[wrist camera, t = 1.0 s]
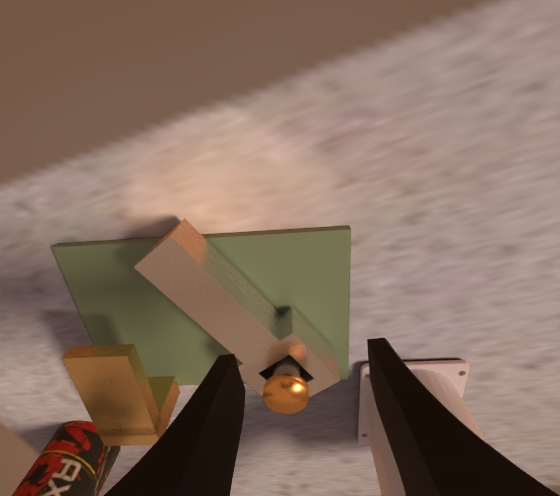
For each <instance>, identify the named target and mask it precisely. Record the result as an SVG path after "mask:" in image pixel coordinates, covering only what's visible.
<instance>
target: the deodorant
mask: <svg viewBox="0 0 560 496" xmlns="http://www.w3.org/2000/svg"><path fill="white" fill-rule="evenodd" d="M119 451H120V446H104V444H103V442H102V440H101V437H100V435H99V433H98V431H97V429H96V427H95V425H94V423H92V422H87V421H72V422H68V423H65V424H63V425H62V426H61V427H60V428H59V429H58V430H57V432H56V433H55V434H54V436H53V437H52V439H51V440H50V442H49V443H48V444H47V446H46V447H45V449H44V450H43V452H42V453H41V454H40V456H39V457H38V459H37V460H36V462H35V463H34V465H33V466H32V467H31V469H30V470H29V472H28V473H27V475H26V476H25V478H24V479H23V480H22V482H21V483H20V485H19V486H18V488H17V489H16V490H15V492H14V493H13V495H12V496H98V495H99V493H100V491H101V489H102V487H103V485H104V483H105V481H106V478H107V476H108V474H109V472H110V470H111V468H112V466H113V464H114V462H115V460H116V458H117V456H118V454H119Z"/></svg>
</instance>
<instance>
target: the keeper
mask: <svg viewBox="0 0 560 496" xmlns="http://www.w3.org/2000/svg"><path fill="white" fill-rule="evenodd" d="M62 361H63V363H64V365H65V367H66V369H67V371H68V373H69V375H70V377H71V379H72V381H73V383H74V385H75V387H76V389H77V391H78V393H79V395H80V397H81V399H82V401H83V403H84V405H85V407H86V409H87V411H88V413H89V415H90V417H91V419H92V421H93V423H94V425H95V427H96V429H97V431H98V433H99V435H100V437H101V440H102V442H103V444H104V446H125V445H154V444H155V443H156V442H157V441H158V440H159V439H160V437H161V436H162V435H163V434H164V433H165V431H166V429H167V426H168V423H169V421H170V418H171V415H172V413H173V410H174V407H175V405H176V402H177V399H178V397H179V394H180V390H179V387H178V384H177V380H176V377H175V376H166V377H146V374H145V371H144V369H143V366H142V363H141V360H140V357H139V355H138V352H137V349H136V346H135V344H123V345H99V346H74V347H71V348H70V349H69V350H68V352H67V353H66V354H65V355H64V356H63V357H62Z"/></svg>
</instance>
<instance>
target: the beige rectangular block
mask: <svg viewBox="0 0 560 496" xmlns="http://www.w3.org/2000/svg"><path fill="white" fill-rule="evenodd" d="M134 268H135V269H136V270H137V271H138V272H140V273H141V274H142V275H143V276H144V277H145V278H146V279H148V280H149V281H150V282H151V283H152V284H153V285H154V286H156V287H157V288H158V289H159V290H160V291H161V292H162V293H164V294H165V295H166V296H167V297H168V298H169V299H170V300H171V301H173V302H174V303H175V304H176V305H177V306H178V307H179V308H181V309H182V310H183V311H184V312H185V313H186V314H187V315H189V316H190V317H191V318H192V319H193V320H194V321H195V322H197V323H198V324H199V325H200V326H201V327H202V328H203V329H205V330H206V331H207V332H208V333H209V334H210V335H211V336H213V337H214V338H215V339H216V340H217V341H218V342H219V343H221V344H222V345H223V346H224V347H225V348H226V349H227V350H229V351H230V352H231V353H232V354H235V358H236V361H237V364H238V368H239V371H240V374H241V378H242V380H244V381H245V382H246V383H247V384H248V385H250V386H251V387H252V388H253V389H254V390H255V391H257V392H258V393H259V394H260V395H261V396H262V397H263V389H264V384H265V382H266V381H267V380H268V379H269V378H271V377H272V375H273V364H274V363H276V362H278V361H279V360H281V359H283V358H284V357H286V356H288V355H290V356H291V357H293V358H294V359H295V360H296V361H297V362H298V363H299V364H300V377H301V378H302V379H304V380H305V381H306V383H307V385H308V387H309V397H311V396H313V395H315V394H317V393H318V392H320V391H322V390H324V389H326V388H328V387H330V386H332V385H333V384H335V383H337V382H339V381H340V376H339V371H338V365H337V359H336V353H335V351H334V350H333V349H332V348H331V347H330V346H329V345H328V344H327V343H326V342H325V341H324V340H323V339H322V338H321V337H320V336H319V335H318V334H317V332H316V331H315V330H314V329H313V328H312V327H311V326H310V325H309V324H308V323H307V322H306V321H305V320H304V319H303V318H302V317H301V316H300V315H299V314H298V313H297V312H296V311H295V310H294V309H293V308H291V309H289V310H288V311H286V312H284V313H283V314H280V313H279V312H278V311H277V310H276V309H275V308H274V307H273V306H272V305H271V304H270V303H269V302H268V301H267V300H266V299H265V298H264V297H263V296H262V295H261V294H260V293H259V292H258V291H257V290H256V289H255V288H254V287H253V286H252V285H251V284H250V283H249V282H248V281H247V280H246V279H245V278H244V277H243V276H242V275H241V274H240V273H239V272H238V271H237V270H236V269H235V268H234V267H233V266H232V265H231V264H230V263H229V262H228V261H227V260H226V259H225V258H224V257H223V256H222V255H221V254H220V253H219V252H218V251H217V250H216V249H215V248H214V247H213V246H212V245H211V244H210V243H209V242H208V241H207V240H206V239H205V238H204V237H203V236H202V235H201V234H200V233H199V232H198V231H197V230H196V229H195V228H194V227H193V226H192V225H191V224H190V223H189V222H188V221H187V220H186V219H184V220H183V221H181V222H180V223H179V224H178V225H177V226H176V227H174V228H173V229H172V230H171V231H170V232H169V233H167V234H166V235H165V236H164V237H163V238H162V239H161V240H159V241H158V242H157V243H156V244H155V245H154V246H152V247H151V249H150V250H149V251H148V252H147V253H146V254H145V255H144V256H143V257H142V258H141V259H140V261H139V262H138V263H137V264H136V265H135V266H134Z"/></svg>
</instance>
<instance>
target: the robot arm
mask: <svg viewBox="0 0 560 496" xmlns="http://www.w3.org/2000/svg"><path fill="white" fill-rule="evenodd" d="M367 342H368V358H369V363H366V364H363V365H362V366H361V371H360V396H359V420H358V443H359V444H360V445H361V446H371V450H372V454H373V459H374V463H375V467H376V472H377V476H378V481H379V485H380V489H381V494H382V496H559V495H558V494H556V493H555V492H553V491H552V490H550V489H549V488H547V487H546V486H544V485H543V484H541V483H540V482H538V481H537V480H536V479H534V478H533V477H531V476H530V475H528V474H527V473H526V472H524V471H523V470H521V469H520V468H519V467H517V466H516V465H515V464H513V463H512V462H511V461H509V460H508V459H507V458H505V457H504V456H503V455H501V454H500V453H499V452H498V451H496V450H495V449H494V448H492V447H491V446H490V445H488V444H487V442H486V440H485V439H484V437H483V435H482V433H481V432H480V430H479V428H478V426H477V425H476V423H475V421H474V419H473V417H472V416H471V414H470V412H469V410H468V409H467V407H466V405H465V403H464V402H463V400H462V397H463V393H464V389H465V385H466V381H467V376H468V372H469V368H470V366H469V364H468V363H467V361H465V360H445V361H416V362H403V361H402V360H401V358H400V357H399V356H398V355H397V353H396V352H395V351H394V349H393V348H392V347H391V345H390V344H389V342H388V341H387V340H386V339H385V338H377V339H368V340H367ZM366 374H368V375H366ZM244 405H245V388H244V384H243V381H242V378H241V374H240V371H239V368H238V364H237V361H236V358H235V354H226V355H219V356H218V358H217V359H216V361H215V362H214V364H213V365H212V367H211V368H210V370H209V371H208V373H207V375H206V376H205V378H204V379H203V381H202V382H201V384H200V385H199V387H198V388H197V390H196V391H195V392H194V394H193V395H192V397H191V398H190V400H189V401H188V403H187V404H186V405H185V407H184V408H183V409H182V411H181V412H180V413H179V415H178V416H177V417H176V419H175V420H174V421H173V423H172V424H171V425H170V426H169V428H168V429H167V430H166V431H165V433H164V434H163V435H162V436H161V437H160V439H159V440H158V441H157V442H156V443H155V444H154V445H153V447H152V448H151V449H150V450H149V451H148V452H147V453H146V454H145V455H144V456H143V457H142V459H141V460H140V461H139V462H138V463H137V464H136V465H135V466H134V467H133V468H132V469H131V470H130V471H129V472H128V473H127V474H126V475H125V476H124V477H123V478H122V479H121V480H120V481H119V482H118V483H117V484H116V485H115V486H114V487H112V488H111V489H110V490H109V491H108V492H107V493H106V494H105V495H104V496H230V490H231V483H232V477H233V472H234V467H235V461H236V456H237V451H238V445H239V440H240V434H241V429H242V423H243V417H244Z"/></svg>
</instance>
